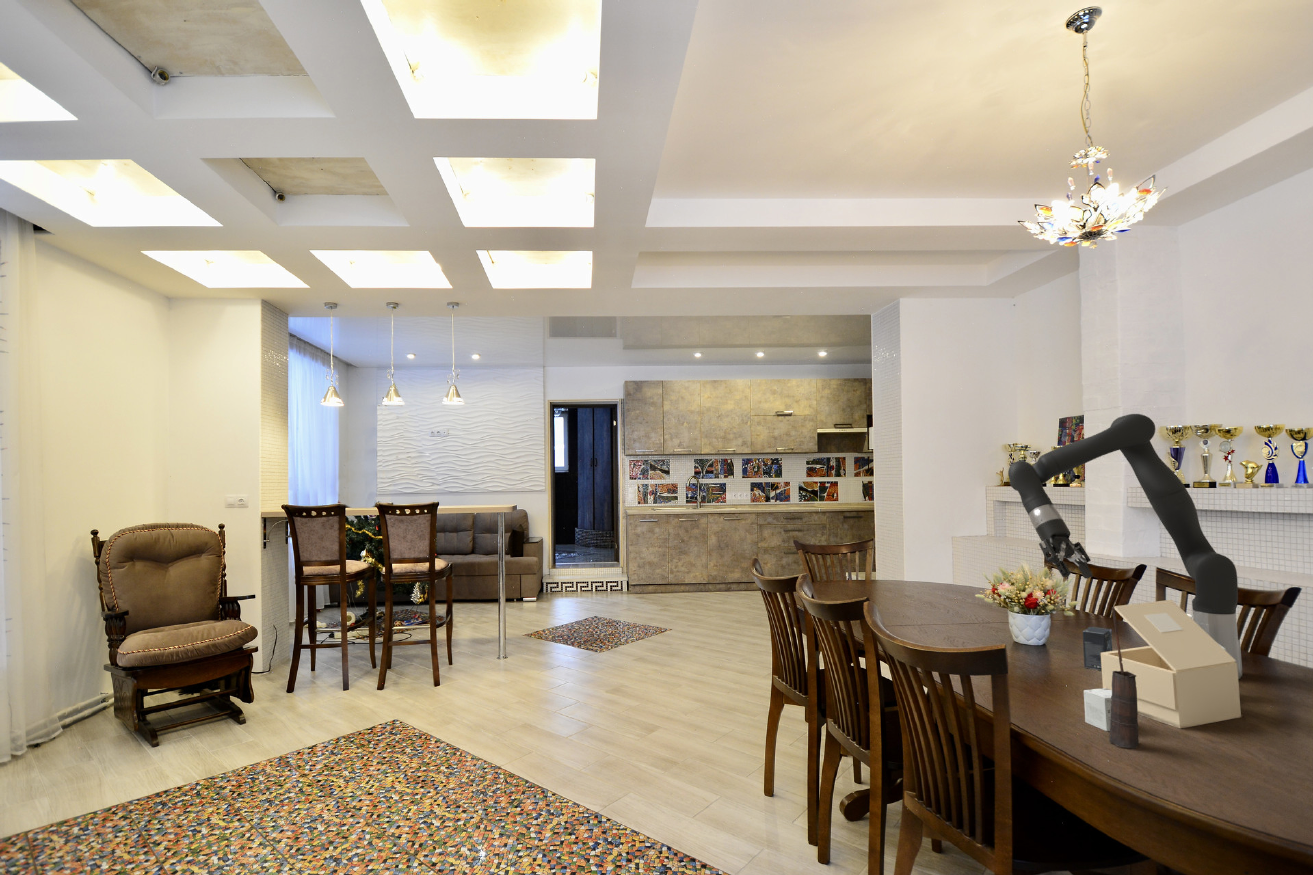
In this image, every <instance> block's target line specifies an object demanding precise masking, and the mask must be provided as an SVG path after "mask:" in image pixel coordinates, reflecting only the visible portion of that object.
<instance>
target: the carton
mask: <svg viewBox="0 0 1313 875" xmlns="http://www.w3.org/2000/svg"><path fill="white" fill-rule="evenodd" d="M1120 651H1121V657H1122V664H1123V670H1124V671H1128V672H1130V673H1132V674H1134V675H1136V677H1135V681H1136V687H1137V707H1138V708H1137V709H1138V714H1137V715H1138V716H1142V717H1145V718H1148V719H1151V720H1153V721H1157V722H1159V723H1162V724H1166V725H1169V726H1172V727H1174V728H1177V729H1180V730H1181V729H1185V728H1191V727H1195V726H1201V725H1205V724H1210V723H1216V722H1221V721H1227V720H1232V719H1233V720H1234V719H1239V718H1242V714H1241V712H1242V711H1241V701H1240V686H1239V685H1240V683H1239V679H1238V670H1237V663H1229V664H1222V665H1216V666H1210V667H1203V668H1197V669H1190V670H1184V671H1178V672H1175V671H1174V670H1173V669H1172V668H1171V667H1170V666H1169V665H1168V664H1167V663H1166V662H1165V661H1164V660H1163V659H1162V658H1161V657H1160V656H1159V655H1158V654H1157V653H1156V652H1155V651H1154V650H1153V649H1152V648H1151V646H1150V645H1146V646H1140V647H1138V646H1137V647H1132V648H1125V649H1120ZM1101 666H1102V670H1101V680H1102V689H1103V688H1107V689H1110V690H1112V673H1113V671H1121V669H1120V663H1119V655H1118V649H1117V650H1112V651H1109V652H1102V653H1101Z"/></svg>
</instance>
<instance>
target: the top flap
mask: <svg viewBox="0 0 1313 875" xmlns="http://www.w3.org/2000/svg"><path fill="white" fill-rule="evenodd" d="M1113 607H1114V608H1115V612H1117V613H1118V614H1119V615H1120V617H1121V618H1123V620H1125V622H1126V623H1127V624H1128V625H1129V626H1130V627H1131V628H1132V629H1133V630H1134V631H1135V632H1136V633H1137V634H1138V635H1139V636H1140V637H1141V638H1142V640H1144V642H1145V643H1147V645H1148V646H1151V648H1152V649H1153V650H1154V651H1155V652H1156V653H1157V654H1158V655H1159V656H1160V657H1161V658H1162V659H1163V660H1164V661H1165V662H1166V663H1167V664H1168V665H1169V666H1170V667H1171V668H1172V669H1173V670H1174V671H1175V672H1178V671H1184V670H1190V669H1197V668H1203V667H1210V666H1216V665H1222V664H1229V663H1235V662H1236V660H1235V659H1234V658H1233V657H1231V656H1230V655H1229V654H1228V653H1227V652H1226V651H1225V650H1224V649H1223V648H1222V647H1221V646H1220V645H1219V644H1218V643H1217V642H1216V641H1215V640H1214V639H1212V638H1211V637H1210V636H1209V635H1208V634H1207V633H1206V632H1205V631H1204V630H1203V629H1202V628H1201V627H1200V626H1199V625H1198V624H1197V623H1196V622H1195V621H1193V618H1192V619H1191V618H1190V617H1189V616H1188V615H1187V614H1188V613H1187V612H1186V611H1184V610H1183V609H1182V608H1181V607H1180V605H1178V604H1177V603H1176V602H1175V601H1173V600H1172V599H1168V600H1159V601H1149V602H1148V601H1147V602H1141V603H1132V604H1131V603H1130V604H1124V605H1123V604H1122V605H1115V606H1113Z"/></svg>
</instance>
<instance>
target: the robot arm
mask: <svg viewBox="0 0 1313 875" xmlns="http://www.w3.org/2000/svg"><path fill="white" fill-rule="evenodd" d="M1155 434H1156V425H1155V422H1154V421H1153V420H1152V419H1151V418H1150V417H1149V416H1147V415H1144V414H1140V413H1130V414H1126V415H1122V416H1119V417H1117V418H1116V419H1114V420H1113V421H1112V423H1111V424H1110V426H1109V427H1108V428H1106V429H1105V430H1102V431H1100V432H1098V433H1096V434H1094V435H1091V436H1088V437H1086V438H1085V437H1084V438H1083V439H1080V440H1077V441H1075V442H1071V443H1068V444H1065V445H1063V446H1060V447H1058V448H1056V449H1053V450H1050V451H1048V452H1047V453H1046V452H1045V453H1044V454H1042V455H1040V456H1039V458H1038V459H1037V461H1036V462H1034V463H1033V464H1031V463H1030V462H1028V461H1025V460H1024V461H1023V460H1018V461H1015V462H1013V463H1012V464H1011V465H1009V467H1008V473H1007V474H1008V475H1007V476H1008V480H1009V481H1008V482H1009V485H1010V487H1011V489H1013V490H1014V491H1017V493H1018V494H1019V497H1020V500H1021V503H1022V506H1023V508H1024V509H1025V511H1026V513H1027V515H1028V516H1029V519H1030V522H1031V524H1032V526H1033V528H1034V530H1035V531H1036V534H1037V535H1038V537H1039V539H1040V541H1041V542H1039V543H1038V545H1039V547H1040V549H1041V551H1042V554H1043V556H1044V557H1045V560H1046V561H1047V562H1048V563H1052V564H1053V565H1054V566H1056V568H1057V570H1058V572H1059V573H1060V575H1061V577H1062V578H1068V577H1069V576H1071V571H1070V570H1069V567H1068V565H1067V564H1066V561H1064V559H1067V560H1068V561H1069V562H1072V563H1074V564H1075V565H1076V566H1077V568H1078V570H1079V571H1080V573H1081V575H1082V576H1083V578H1084V579H1086V580H1087V579H1090V578H1092V577H1093V572H1092V570H1091V568H1090V567H1089V566H1088V563H1089V562H1091V558H1090V557H1089V554H1088V553H1087V551H1086V550H1085V548H1084V547H1083V546H1082V543H1081V542H1079V541H1077V542H1075V543H1073V542H1072V541H1071V539H1070V536H1071V531H1070V529H1069V528H1068V526H1067V523H1066V522H1065V521H1064V519H1063V517H1062V515H1061V514H1060V512H1059V511H1058V509H1057V508H1056V507H1055V505H1054V504H1053V502H1052V500H1051V498H1050V497H1049V495H1048V494H1047V492H1046V490H1045V489H1044V486H1043V484H1045V483H1046V482H1048V481H1049V480H1051V479H1052V478H1054V477H1056V476H1059V475H1061V474H1064V473H1067V472H1068V471H1071V470H1073V469H1076V468H1078V467H1080V466H1082V465H1085V464H1086V463H1089V462H1091V461H1093V460H1096V459H1097V458H1100V457H1102V456H1103V457H1104V456H1105V455H1108V454H1111V453H1114V452H1117V451H1120V452H1121V453H1122V455H1123V456H1124V458H1125V459H1126V461H1127V462H1128V464H1129V465H1130V467H1131V469H1132V471H1133V474H1134V475H1135V477H1136V478H1137V481H1138V483H1139V484H1140V487H1141V489H1142V490H1143V492H1144V494H1145V496H1146V497H1147V500H1148V502H1149V504H1150V505H1151V508H1152V509H1153V511H1154V512H1155V514H1156V515H1157V517H1158V519H1159V521H1160V522H1161V523H1162V525H1163V527H1164V528H1165V530H1166V532H1167V533H1168V534H1169V535H1170V537H1171V540H1172V541H1173V542H1174V545H1175V547H1176V549H1177V551H1178V554H1179V556H1180V558H1181V561H1182V563H1183V565H1184V566H1183V567H1184V568H1185V570H1186V572H1187V574H1188V575H1189V577H1190V578H1192V579H1193V580H1194V581H1195V582H1194V584H1195V596H1194V598H1193V599H1192V600H1191V608H1192V620H1193V621H1195V622H1196V623H1197V624H1198V625H1199V626H1200V627H1201V628H1202V629H1203V630H1204V631H1205V632H1206V633H1207V634H1208V635H1209V636H1210V637H1211V638H1212V639H1214V640H1215V641H1216V642H1217V643H1218V644H1219V645H1221V646H1222V647H1224V648H1225V649H1226V652H1227V653H1228V654H1229V655H1230V656H1231V657H1233V658H1234V659H1235V660H1236V662H1235V663H1237V670H1238V680H1239V679H1241V677H1243V664H1242V663H1243V662H1242V652H1241V641H1240V640H1239V637H1238V636H1239V635H1238V623H1237V622H1238V621H1237V610H1236V607H1237V605H1238V602H1239V601H1238V600H1239V591H1238V590H1239V589H1238V588H1239V587H1238V572H1237V568H1236V565H1235V563H1234V562H1233V561H1232V559H1230V558H1229V557H1227V556H1226V555H1224V554H1221V553H1217V552H1216V551H1215V549H1214V547H1212V544H1210V542H1209V540H1208V539H1207V538H1206V536H1205V534H1204V533H1203V530H1202V528H1201V524H1200V520H1199V515H1198V512H1197V508H1196V505H1195V502H1194V500H1193V498H1192V497H1191V495H1190V493H1189V490H1188V489H1187V488H1186V487H1185V485H1184V483H1183V481H1181V479H1180V478H1179V476H1178V475H1176V473H1175V472H1174V471H1173V470H1172V469H1171V468H1170V467H1169V466H1168V465H1167V464H1166V463H1165V462H1164V461H1163V460H1162V459H1161V458H1160V456H1159V455H1158V453H1157V451H1156V450H1155V448H1154V446H1153V444H1152V442H1151V440H1152V439H1153V437H1154V436H1155ZM1049 554H1050V555H1051V556H1050V555H1049Z"/></svg>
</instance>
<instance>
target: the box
mask: <svg viewBox="0 0 1313 875" xmlns="http://www.w3.org/2000/svg"><path fill="white" fill-rule="evenodd" d="M1112 637H1113V636H1112V628H1105V627H1097V626H1089V627H1088V628H1086V629H1084V630H1083V631H1082V644H1083V646H1082V647H1083V666H1084V668H1087V669H1090V670H1097V671H1102V666H1101V653H1102V652H1109V651H1113V639H1112Z"/></svg>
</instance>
